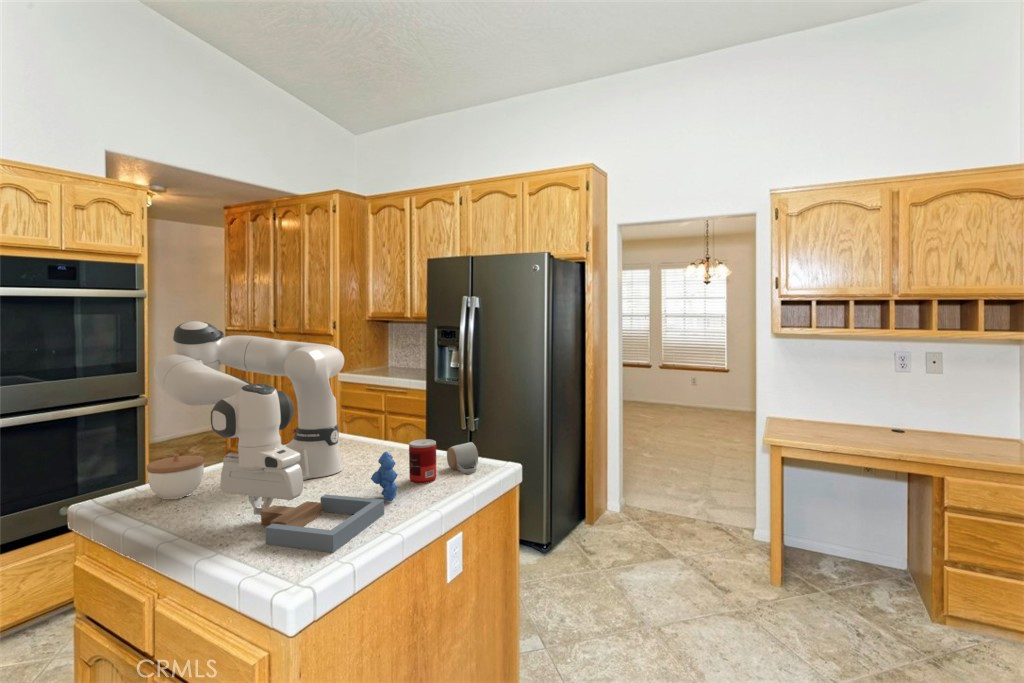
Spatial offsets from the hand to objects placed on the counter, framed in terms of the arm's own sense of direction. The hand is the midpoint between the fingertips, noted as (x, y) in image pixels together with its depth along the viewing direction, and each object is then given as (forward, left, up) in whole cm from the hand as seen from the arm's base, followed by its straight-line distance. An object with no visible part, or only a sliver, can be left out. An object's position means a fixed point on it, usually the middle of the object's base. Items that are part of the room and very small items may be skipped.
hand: (261, 514), depth 112 cm
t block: (+7, 0, -2) cm, 7 cm away
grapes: (+21, +19, -2) cm, 28 cm away
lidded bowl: (-35, +9, -2) cm, 36 cm away
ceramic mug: (+32, +49, -2) cm, 58 cm away
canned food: (+24, +36, -2) cm, 43 cm away
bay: (+18, 0, -2) cm, 18 cm away
